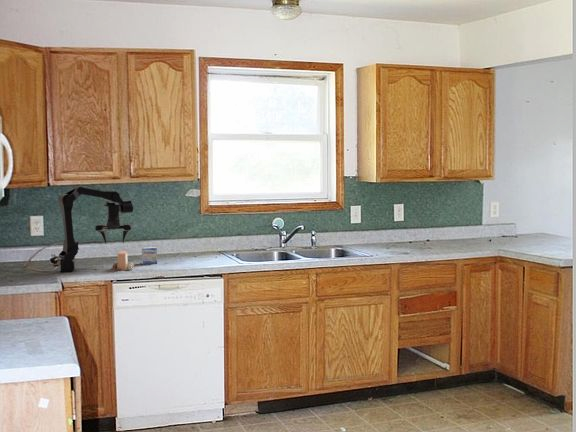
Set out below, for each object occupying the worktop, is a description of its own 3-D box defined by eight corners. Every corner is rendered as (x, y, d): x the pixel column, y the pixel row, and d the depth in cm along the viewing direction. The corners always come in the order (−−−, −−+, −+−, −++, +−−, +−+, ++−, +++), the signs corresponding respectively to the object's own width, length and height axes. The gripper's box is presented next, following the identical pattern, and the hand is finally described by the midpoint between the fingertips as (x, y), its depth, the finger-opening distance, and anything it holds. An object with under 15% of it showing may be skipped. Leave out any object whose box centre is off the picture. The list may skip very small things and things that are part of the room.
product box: (120, 266, 363) (119, 251, 362) (128, 266, 363) (127, 251, 362) (118, 268, 356) (117, 253, 355) (125, 268, 356) (125, 253, 356)
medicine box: (142, 264, 372) (142, 248, 371) (142, 263, 376) (141, 247, 375) (157, 263, 374) (157, 247, 373) (156, 262, 378) (156, 246, 377)
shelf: (111, 271, 354) (111, 266, 354) (115, 267, 365) (115, 262, 365) (131, 270, 355) (130, 265, 354) (134, 266, 366) (134, 261, 365)
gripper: (92, 216, 359) (93, 245, 361) (128, 215, 360) (129, 245, 362) (97, 213, 370) (98, 242, 372) (132, 213, 371) (133, 241, 373)
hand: (114, 243), depth 369 cm, fingers open, 9 cm apart
